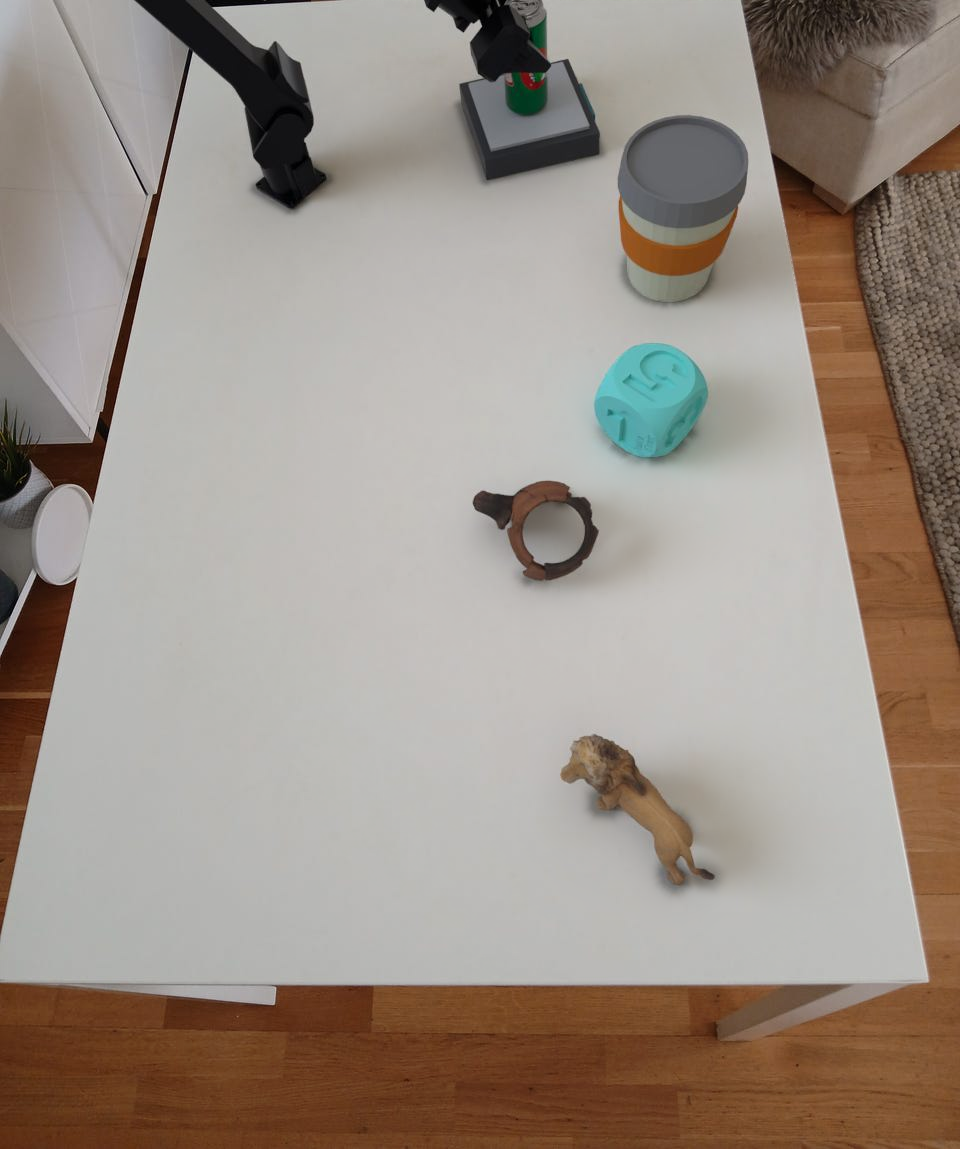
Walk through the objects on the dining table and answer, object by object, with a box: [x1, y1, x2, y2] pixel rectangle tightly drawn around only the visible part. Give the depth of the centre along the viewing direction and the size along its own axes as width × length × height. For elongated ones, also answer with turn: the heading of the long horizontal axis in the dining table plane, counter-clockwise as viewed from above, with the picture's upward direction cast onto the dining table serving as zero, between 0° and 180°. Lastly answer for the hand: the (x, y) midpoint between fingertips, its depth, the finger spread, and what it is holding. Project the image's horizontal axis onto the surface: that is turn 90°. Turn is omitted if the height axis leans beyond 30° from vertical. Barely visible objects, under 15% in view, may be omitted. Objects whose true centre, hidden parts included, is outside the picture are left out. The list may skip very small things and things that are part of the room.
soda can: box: [504, 0, 548, 116], centre depth 104 cm, size 5×5×12 cm
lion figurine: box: [559, 733, 716, 886], centre depth 72 cm, size 15×5×9 cm, turn 50°
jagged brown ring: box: [472, 480, 600, 582], centre depth 86 cm, size 12×10×8 cm
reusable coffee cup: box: [617, 114, 749, 303], centre depth 94 cm, size 13×13×15 cm
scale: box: [458, 58, 601, 181], centre depth 111 cm, size 15×14×4 cm
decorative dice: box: [593, 342, 709, 458], centre depth 89 cm, size 8×8×8 cm
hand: (537, 42), depth 103 cm, fingers open, 9 cm apart
